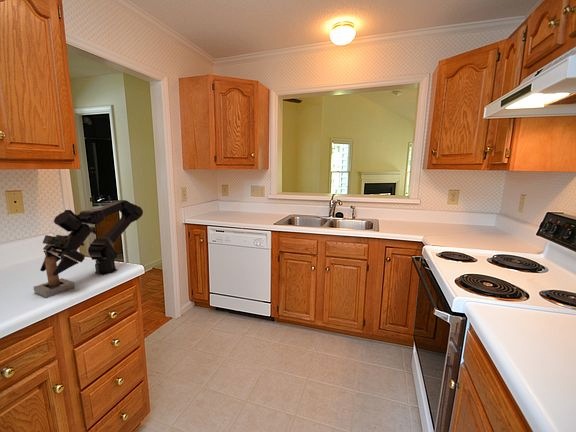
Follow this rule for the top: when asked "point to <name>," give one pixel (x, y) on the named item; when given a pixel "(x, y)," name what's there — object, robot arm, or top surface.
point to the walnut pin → (51, 271)
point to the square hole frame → (54, 288)
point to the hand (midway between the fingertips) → (47, 273)
